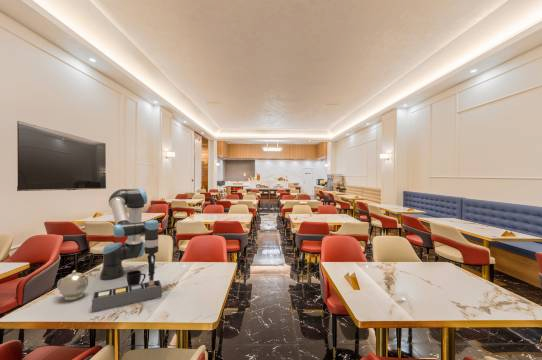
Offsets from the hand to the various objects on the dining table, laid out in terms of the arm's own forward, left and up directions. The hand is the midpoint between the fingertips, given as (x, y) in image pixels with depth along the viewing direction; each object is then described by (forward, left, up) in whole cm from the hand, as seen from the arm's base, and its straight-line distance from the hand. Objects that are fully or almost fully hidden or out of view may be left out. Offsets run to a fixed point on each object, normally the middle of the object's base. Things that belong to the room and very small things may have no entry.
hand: (151, 284), depth 152 cm
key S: (0, -8, -3) cm, 9 cm away
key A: (0, -24, -3) cm, 24 cm away
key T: (0, -16, -3) cm, 16 cm away
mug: (-19, -7, -7) cm, 21 cm away
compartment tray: (0, -12, -7) cm, 14 cm away
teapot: (-22, -41, -7) cm, 47 cm away
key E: (0, 0, -5) cm, 5 cm away
